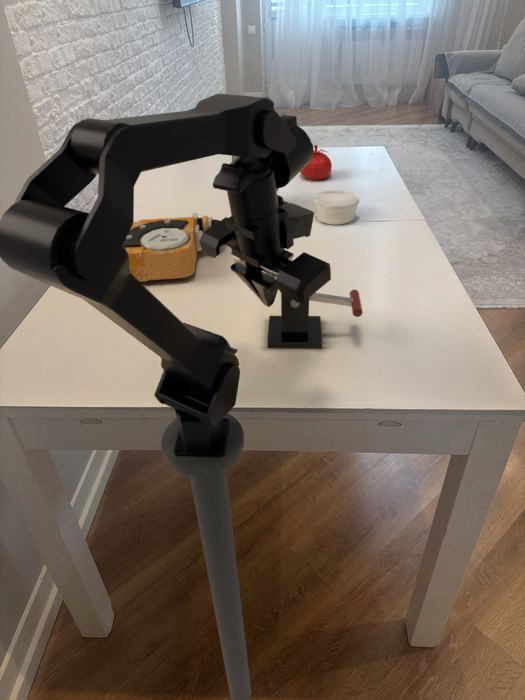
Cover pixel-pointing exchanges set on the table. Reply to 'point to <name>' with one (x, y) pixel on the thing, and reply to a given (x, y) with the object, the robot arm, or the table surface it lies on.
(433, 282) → the table surface
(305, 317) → the bracket
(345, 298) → the lever
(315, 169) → the red tomato
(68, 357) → the table surface
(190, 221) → the device
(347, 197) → the ramekin
